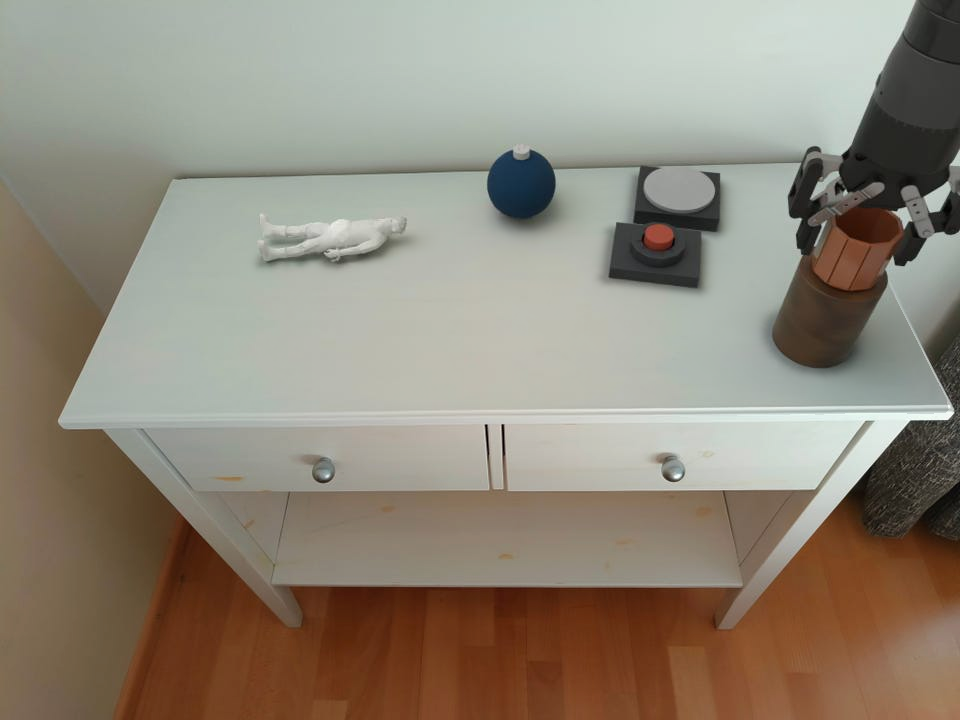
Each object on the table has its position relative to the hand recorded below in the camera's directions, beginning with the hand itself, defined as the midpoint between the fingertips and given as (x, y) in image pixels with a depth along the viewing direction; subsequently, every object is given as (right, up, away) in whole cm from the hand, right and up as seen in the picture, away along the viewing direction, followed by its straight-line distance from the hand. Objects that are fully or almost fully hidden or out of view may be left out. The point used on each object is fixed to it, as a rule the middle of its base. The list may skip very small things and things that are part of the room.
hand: (850, 254), depth 69 cm
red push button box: (-14, +2, +18) cm, 23 cm away
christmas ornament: (-29, +9, +24) cm, 39 cm away
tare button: (-14, +4, +16) cm, 22 cm away
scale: (-10, +10, +24) cm, 28 cm away
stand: (+1, -8, +10) cm, 12 cm away
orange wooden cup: (0, -1, +2) cm, 2 cm away
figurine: (-52, +4, +22) cm, 57 cm away
